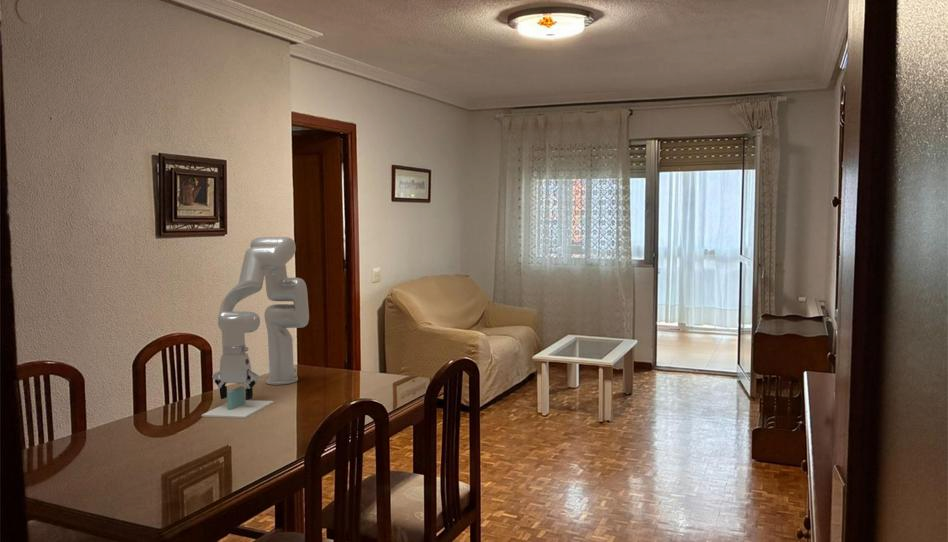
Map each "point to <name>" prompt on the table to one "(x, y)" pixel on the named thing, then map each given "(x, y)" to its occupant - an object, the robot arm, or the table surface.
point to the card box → (236, 397)
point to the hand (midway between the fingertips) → (236, 398)
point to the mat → (238, 409)
